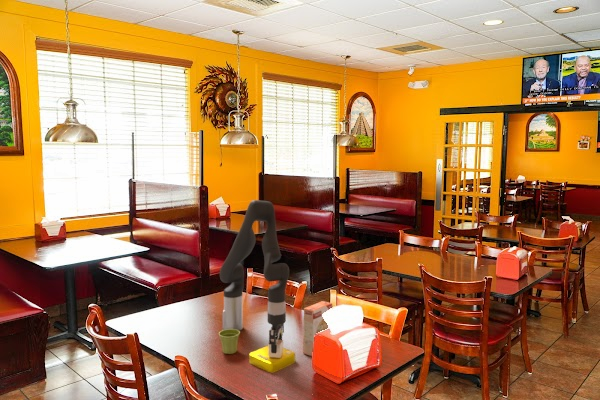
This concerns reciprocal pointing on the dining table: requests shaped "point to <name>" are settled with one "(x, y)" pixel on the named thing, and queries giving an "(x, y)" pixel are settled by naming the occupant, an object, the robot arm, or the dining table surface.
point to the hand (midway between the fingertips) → (276, 348)
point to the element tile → (271, 359)
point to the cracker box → (313, 324)
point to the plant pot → (229, 340)
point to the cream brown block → (279, 349)
